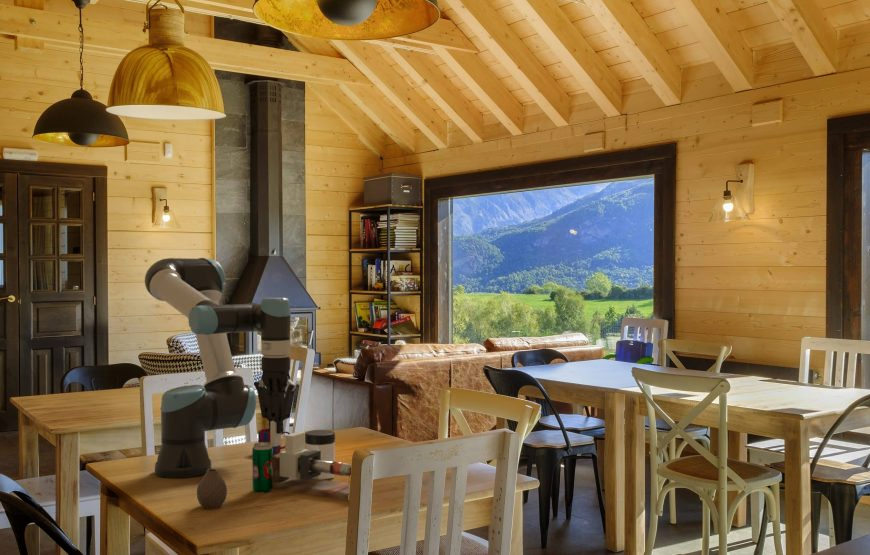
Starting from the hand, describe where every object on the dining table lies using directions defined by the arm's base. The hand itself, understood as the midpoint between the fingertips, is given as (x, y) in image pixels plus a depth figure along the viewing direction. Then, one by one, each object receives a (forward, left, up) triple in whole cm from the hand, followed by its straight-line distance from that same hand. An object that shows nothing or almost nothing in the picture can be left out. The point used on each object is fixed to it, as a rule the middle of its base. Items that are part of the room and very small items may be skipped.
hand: (275, 445), depth 224 cm
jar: (+6, +11, -10) cm, 16 cm away
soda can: (+2, -8, -10) cm, 13 cm away
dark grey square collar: (+11, 0, -7) cm, 13 cm away
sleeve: (+6, 0, -7) cm, 9 cm away
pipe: (+14, 0, -6) cm, 15 cm away
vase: (0, -25, -10) cm, 27 cm away
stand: (+14, 0, -10) cm, 17 cm away
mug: (-23, +30, -10) cm, 39 cm away
